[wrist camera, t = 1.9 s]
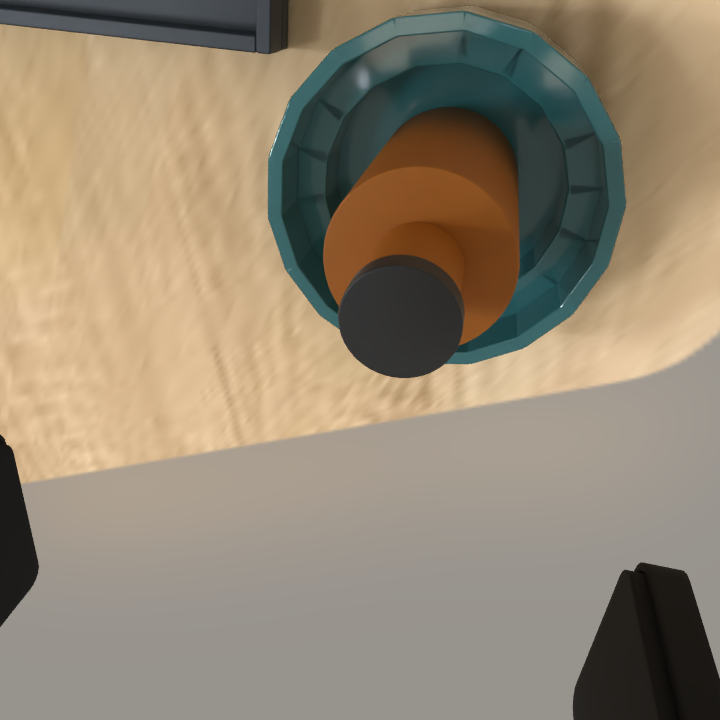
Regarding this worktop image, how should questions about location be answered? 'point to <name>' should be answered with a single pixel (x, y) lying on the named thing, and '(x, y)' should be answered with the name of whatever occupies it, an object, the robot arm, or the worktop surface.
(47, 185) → the worktop surface
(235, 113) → the worktop surface
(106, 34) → the tray
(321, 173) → the bowl
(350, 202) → the bottle
